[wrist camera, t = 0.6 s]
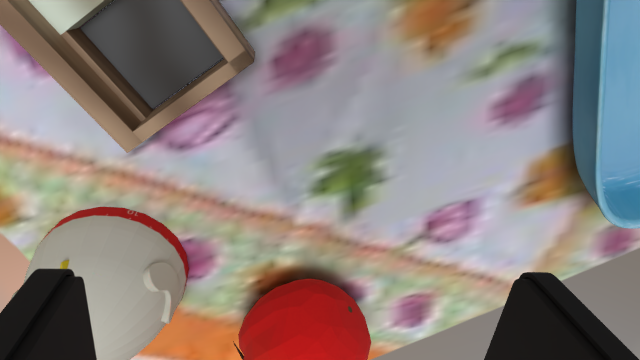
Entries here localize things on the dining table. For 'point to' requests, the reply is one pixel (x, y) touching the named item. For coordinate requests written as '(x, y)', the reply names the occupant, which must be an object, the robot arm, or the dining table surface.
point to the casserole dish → (608, 106)
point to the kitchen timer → (119, 274)
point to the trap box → (131, 56)
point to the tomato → (305, 325)
